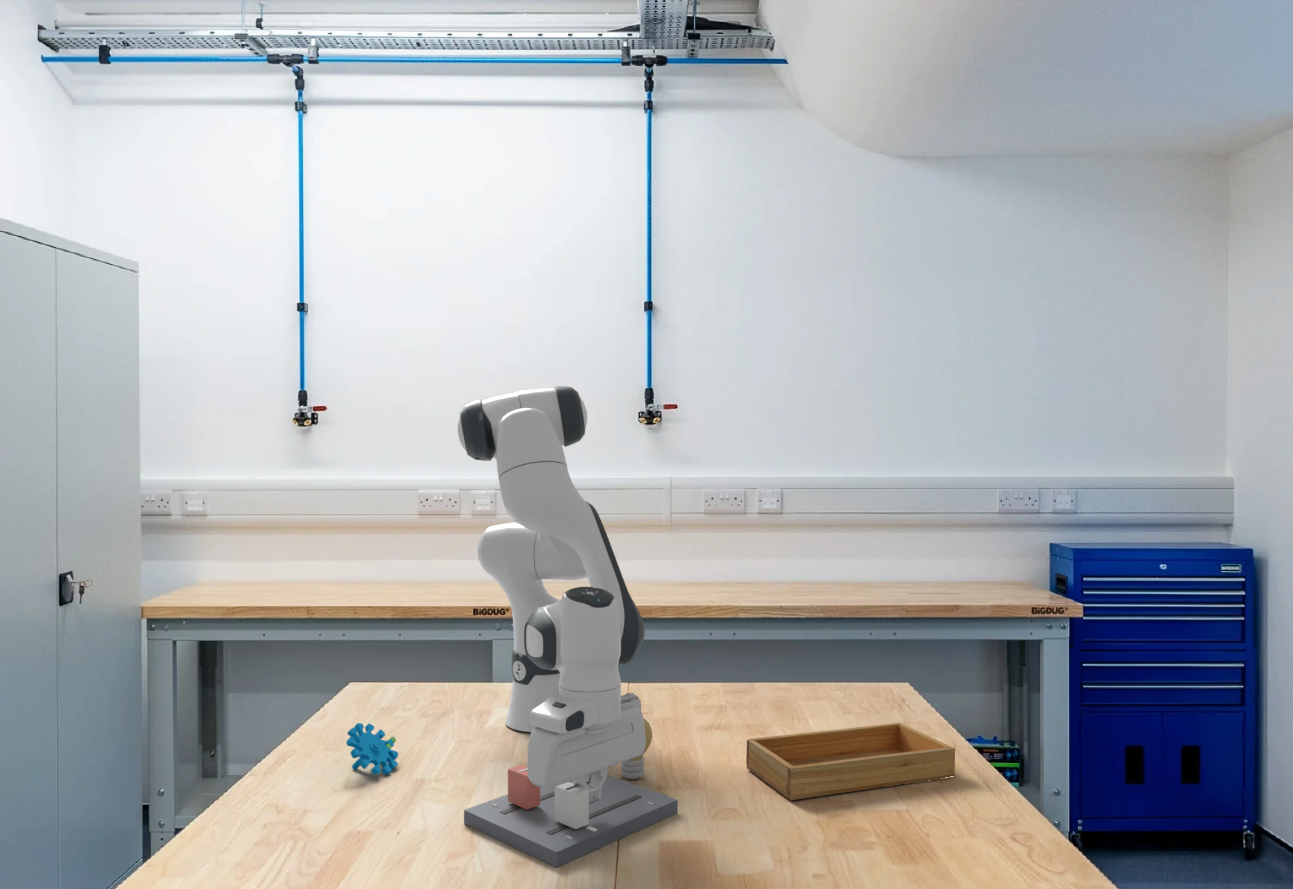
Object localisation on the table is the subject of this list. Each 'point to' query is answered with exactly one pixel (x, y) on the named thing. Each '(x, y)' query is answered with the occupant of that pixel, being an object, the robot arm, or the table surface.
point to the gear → (372, 749)
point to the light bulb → (637, 758)
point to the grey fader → (572, 805)
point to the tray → (848, 760)
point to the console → (559, 843)
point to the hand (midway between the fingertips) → (589, 801)
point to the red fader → (522, 788)
